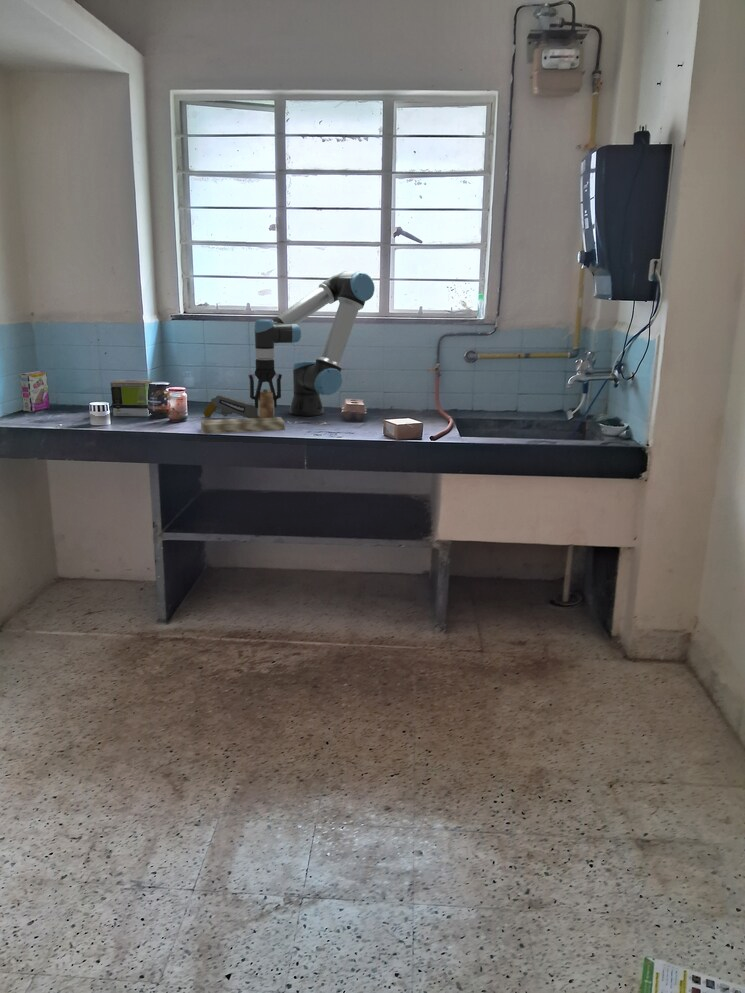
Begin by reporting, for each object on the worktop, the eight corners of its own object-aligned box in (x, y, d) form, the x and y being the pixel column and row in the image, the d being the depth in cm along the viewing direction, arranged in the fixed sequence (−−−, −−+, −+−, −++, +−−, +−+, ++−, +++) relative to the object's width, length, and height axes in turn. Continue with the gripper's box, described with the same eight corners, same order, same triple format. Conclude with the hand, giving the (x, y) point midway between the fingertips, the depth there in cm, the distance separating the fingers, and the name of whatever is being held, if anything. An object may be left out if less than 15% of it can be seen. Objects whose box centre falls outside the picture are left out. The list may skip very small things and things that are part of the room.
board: (280, 425, 302) (280, 417, 301) (284, 429, 293) (284, 421, 292) (201, 428, 292) (200, 420, 291) (203, 433, 284) (203, 424, 283)
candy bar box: (32, 412, 315) (27, 374, 310) (23, 411, 316) (18, 373, 311) (50, 408, 325) (46, 371, 320) (41, 407, 327) (37, 370, 322)
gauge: (270, 417, 306) (270, 388, 302) (276, 423, 294) (276, 393, 291) (258, 417, 304) (258, 388, 300) (264, 423, 293) (263, 393, 289)
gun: (253, 440, 313) (265, 409, 308) (201, 416, 313) (212, 384, 308) (255, 438, 316) (267, 407, 311) (203, 414, 316) (215, 383, 311)
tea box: (154, 412, 321) (152, 379, 316) (147, 417, 311) (145, 382, 307) (120, 412, 321) (118, 378, 317) (112, 416, 312) (109, 381, 307)
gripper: (284, 357, 301) (285, 413, 308) (240, 358, 296) (242, 414, 302) (288, 359, 294) (289, 416, 301) (243, 360, 289) (245, 418, 296)
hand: (265, 415), depth 302 cm, fingers closed on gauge, 5 cm apart
